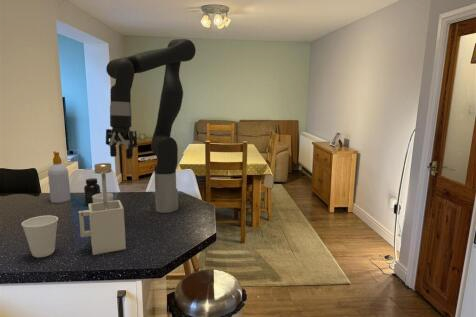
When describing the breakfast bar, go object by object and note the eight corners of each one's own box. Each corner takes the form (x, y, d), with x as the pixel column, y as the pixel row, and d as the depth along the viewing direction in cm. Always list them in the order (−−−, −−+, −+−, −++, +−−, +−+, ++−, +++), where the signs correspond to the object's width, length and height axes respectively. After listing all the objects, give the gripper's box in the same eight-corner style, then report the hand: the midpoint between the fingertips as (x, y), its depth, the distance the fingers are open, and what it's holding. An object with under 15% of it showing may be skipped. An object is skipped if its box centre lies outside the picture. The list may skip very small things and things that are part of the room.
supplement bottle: (104, 203, 155) (102, 178, 152) (91, 207, 149) (89, 181, 147) (95, 201, 158) (93, 177, 156) (82, 204, 152) (80, 179, 150)
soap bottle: (67, 196, 165) (63, 150, 161) (73, 200, 158) (68, 152, 154) (48, 199, 159) (43, 151, 155) (53, 204, 152) (48, 154, 148)
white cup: (107, 222, 130) (105, 198, 128) (89, 221, 132) (87, 197, 130) (118, 216, 138) (116, 193, 136) (101, 214, 139) (99, 192, 137)
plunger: (117, 214, 113) (114, 161, 110) (120, 221, 106) (116, 165, 103) (93, 217, 110) (89, 163, 106) (94, 225, 103) (90, 167, 100)
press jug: (121, 237, 116) (119, 199, 114) (125, 248, 107) (123, 208, 105) (81, 244, 110) (78, 204, 108) (82, 257, 102) (78, 214, 99)
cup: (35, 247, 108) (32, 215, 106) (66, 246, 109) (63, 214, 107) (18, 261, 98) (14, 227, 97) (52, 260, 99) (49, 226, 97)
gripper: (142, 115, 121) (142, 158, 123) (115, 113, 127) (116, 154, 130) (126, 114, 114) (126, 160, 116) (99, 113, 121) (100, 156, 123)
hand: (121, 157), depth 123 cm, fingers open, 8 cm apart
